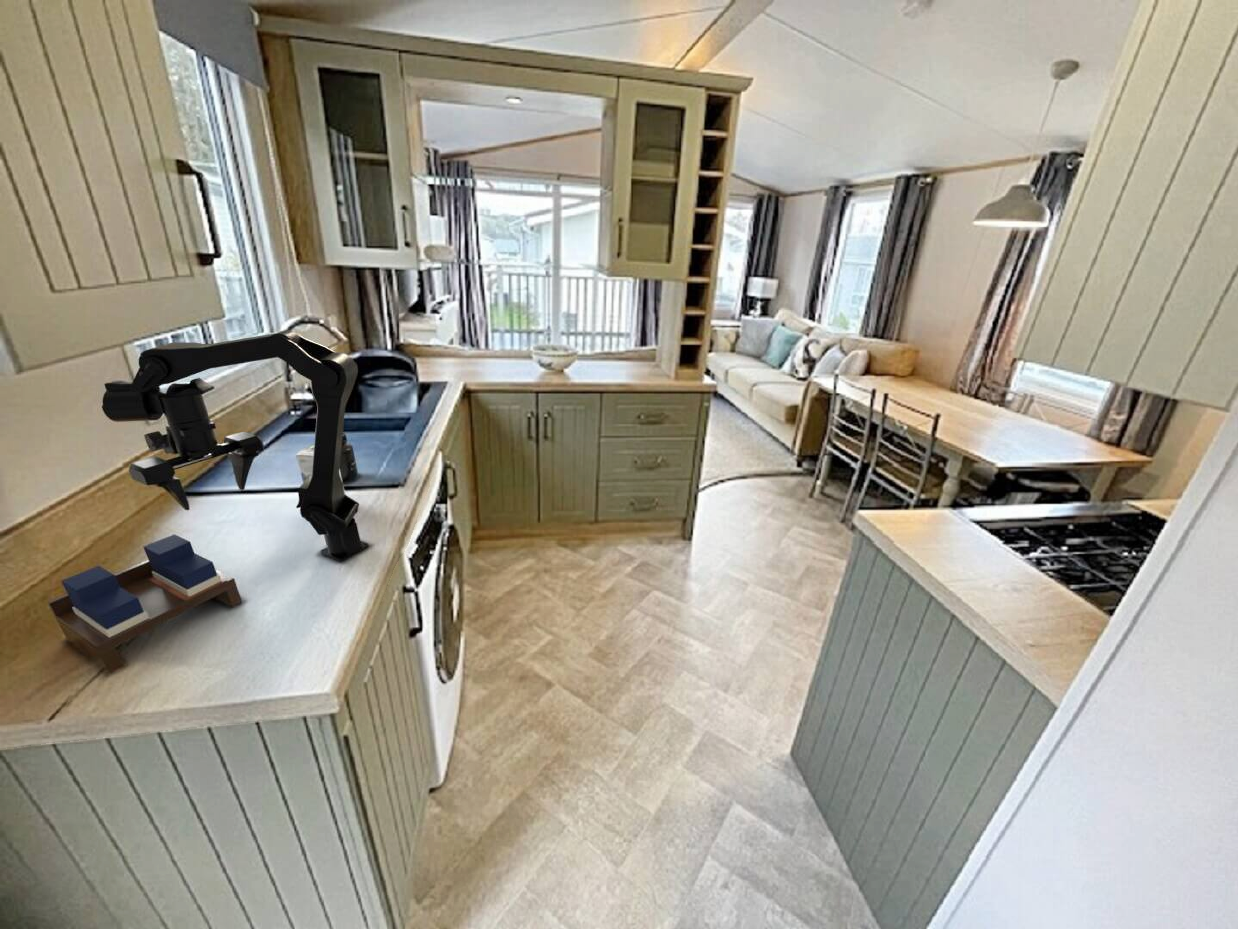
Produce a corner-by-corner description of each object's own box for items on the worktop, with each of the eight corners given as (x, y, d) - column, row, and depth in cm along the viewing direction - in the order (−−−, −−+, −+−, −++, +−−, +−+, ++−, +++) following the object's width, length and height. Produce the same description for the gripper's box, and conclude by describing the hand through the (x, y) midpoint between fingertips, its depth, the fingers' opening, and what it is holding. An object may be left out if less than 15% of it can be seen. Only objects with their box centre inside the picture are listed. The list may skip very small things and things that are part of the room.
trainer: (222, 581, 86) (211, 550, 84) (189, 597, 82) (176, 565, 80) (186, 563, 91) (175, 533, 88) (153, 577, 87) (140, 546, 84)
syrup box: (348, 502, 123) (335, 445, 117) (333, 514, 117) (319, 455, 112) (325, 501, 123) (311, 444, 117) (309, 513, 118) (294, 454, 112)
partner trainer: (149, 618, 78) (135, 585, 75) (109, 638, 74) (92, 603, 72) (114, 596, 83) (100, 564, 80) (75, 613, 79) (58, 581, 76)
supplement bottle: (363, 479, 135) (354, 435, 130) (335, 487, 130) (324, 442, 125) (353, 471, 139) (344, 428, 134) (326, 478, 135) (315, 435, 130)
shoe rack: (242, 602, 89) (229, 566, 86) (110, 673, 74) (89, 632, 72) (198, 579, 95) (185, 544, 92) (67, 640, 80) (46, 601, 77)
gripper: (220, 398, 101) (243, 472, 107) (97, 426, 86) (132, 510, 92) (254, 407, 96) (276, 483, 102) (130, 438, 81) (164, 525, 87)
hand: (215, 499), depth 96 cm, fingers open, 9 cm apart
